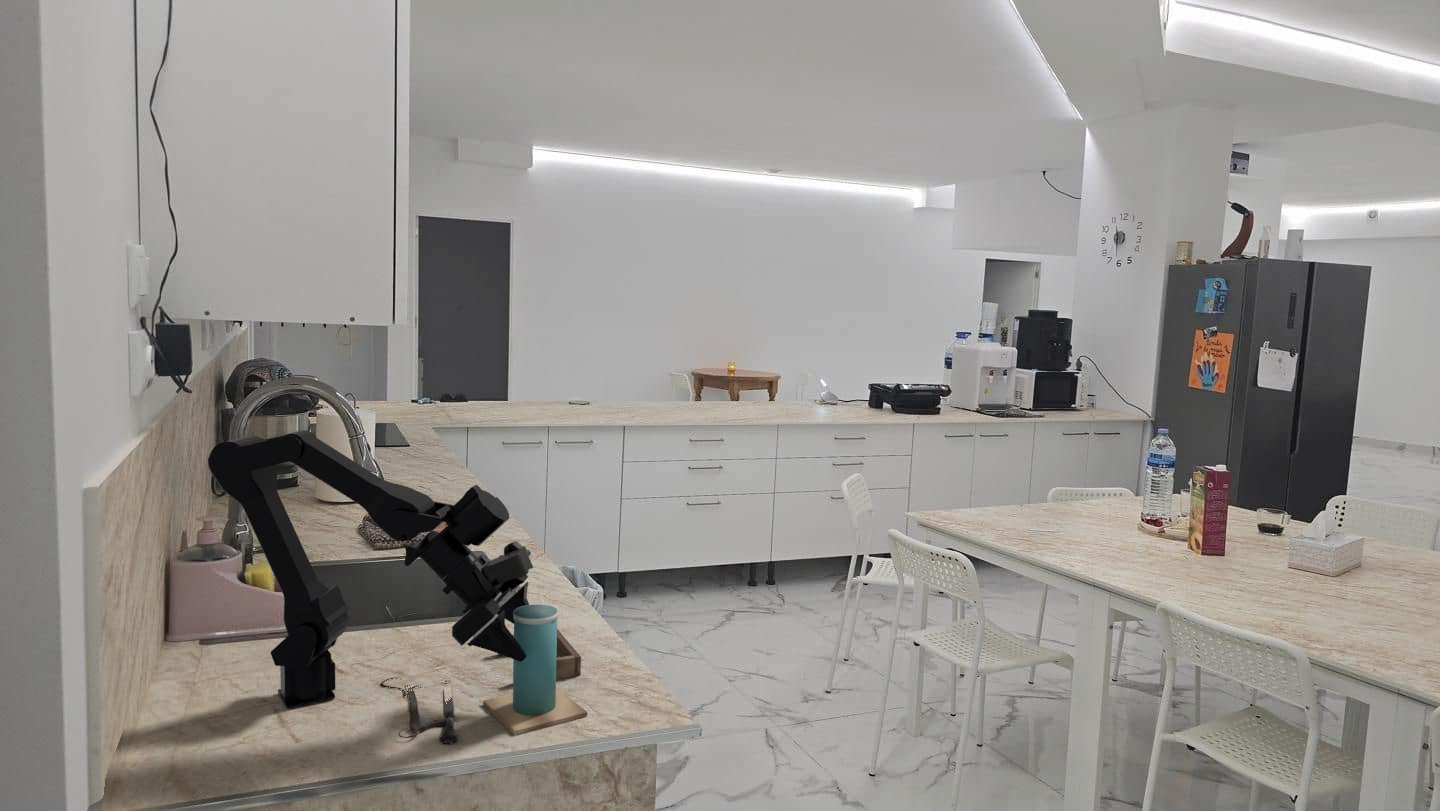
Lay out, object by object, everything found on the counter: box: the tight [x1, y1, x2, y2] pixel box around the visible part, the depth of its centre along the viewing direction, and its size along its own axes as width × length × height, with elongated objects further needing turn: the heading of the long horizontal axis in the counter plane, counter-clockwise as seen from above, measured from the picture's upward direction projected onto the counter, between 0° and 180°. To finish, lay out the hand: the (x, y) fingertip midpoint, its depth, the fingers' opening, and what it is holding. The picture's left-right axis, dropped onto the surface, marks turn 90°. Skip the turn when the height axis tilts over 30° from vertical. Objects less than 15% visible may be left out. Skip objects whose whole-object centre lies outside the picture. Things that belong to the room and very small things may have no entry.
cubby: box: [498, 628, 582, 680], centre depth 147 cm, size 10×13×3 cm
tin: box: [512, 603, 559, 716], centre depth 130 cm, size 6×6×14 cm
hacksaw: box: [380, 677, 458, 745], centre depth 129 cm, size 24×10×2 cm, turn 18°
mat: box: [482, 686, 588, 736], centre depth 131 cm, size 11×11×1 cm
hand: (532, 646), depth 130 cm, fingers open, 9 cm apart
